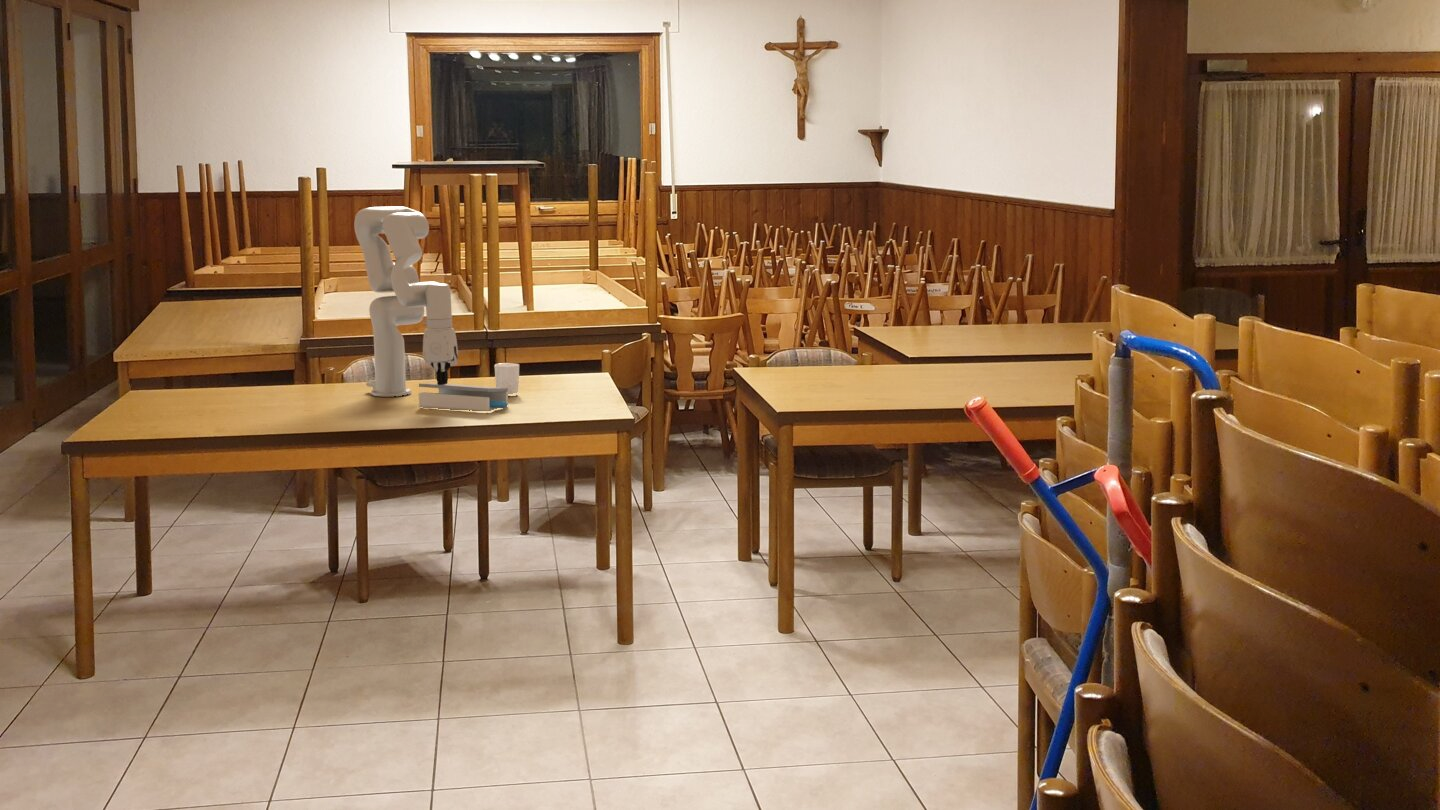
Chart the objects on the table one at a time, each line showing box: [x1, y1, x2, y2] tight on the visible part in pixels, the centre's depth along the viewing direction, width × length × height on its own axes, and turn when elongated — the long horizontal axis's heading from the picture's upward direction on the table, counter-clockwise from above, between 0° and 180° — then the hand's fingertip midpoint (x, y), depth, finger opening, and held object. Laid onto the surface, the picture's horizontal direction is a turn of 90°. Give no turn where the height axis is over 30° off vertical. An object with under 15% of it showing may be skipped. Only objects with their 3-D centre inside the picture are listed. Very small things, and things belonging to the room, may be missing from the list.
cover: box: [418, 382, 508, 392], centre depth 436 cm, size 24×12×1 cm, turn 69°
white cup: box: [493, 362, 520, 394], centre depth 458 cm, size 8×8×10 cm
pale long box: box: [418, 388, 509, 411], centre depth 436 cm, size 24×12×5 cm, turn 69°
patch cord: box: [489, 400, 507, 409], centre depth 436 cm, size 29×2×2 cm, turn 69°
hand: (442, 384), depth 435 cm, fingers closed
